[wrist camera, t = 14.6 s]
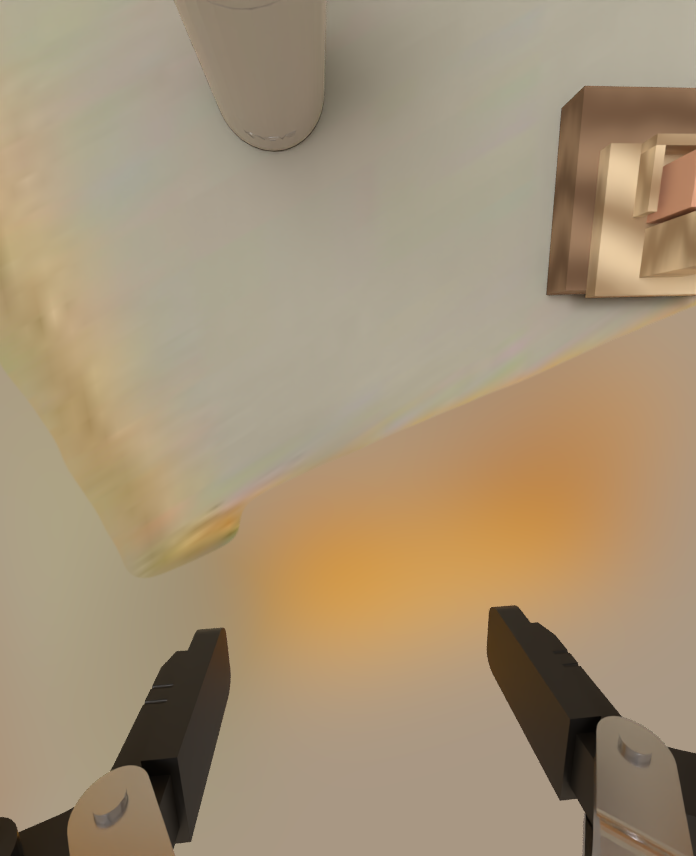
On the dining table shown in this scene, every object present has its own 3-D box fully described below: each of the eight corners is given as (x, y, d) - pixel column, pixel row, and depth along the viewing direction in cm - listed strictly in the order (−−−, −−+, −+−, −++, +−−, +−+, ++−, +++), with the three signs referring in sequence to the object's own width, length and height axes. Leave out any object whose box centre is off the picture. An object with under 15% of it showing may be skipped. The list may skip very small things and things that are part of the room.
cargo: (653, 171, 32) (700, 147, 28) (697, 171, 32) (749, 147, 28) (646, 223, 32) (690, 206, 29) (689, 223, 33) (739, 206, 29)
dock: (561, 108, 34) (585, 85, 31) (725, 110, 35) (764, 88, 32) (546, 294, 37) (566, 290, 34) (696, 291, 38) (728, 287, 35)
